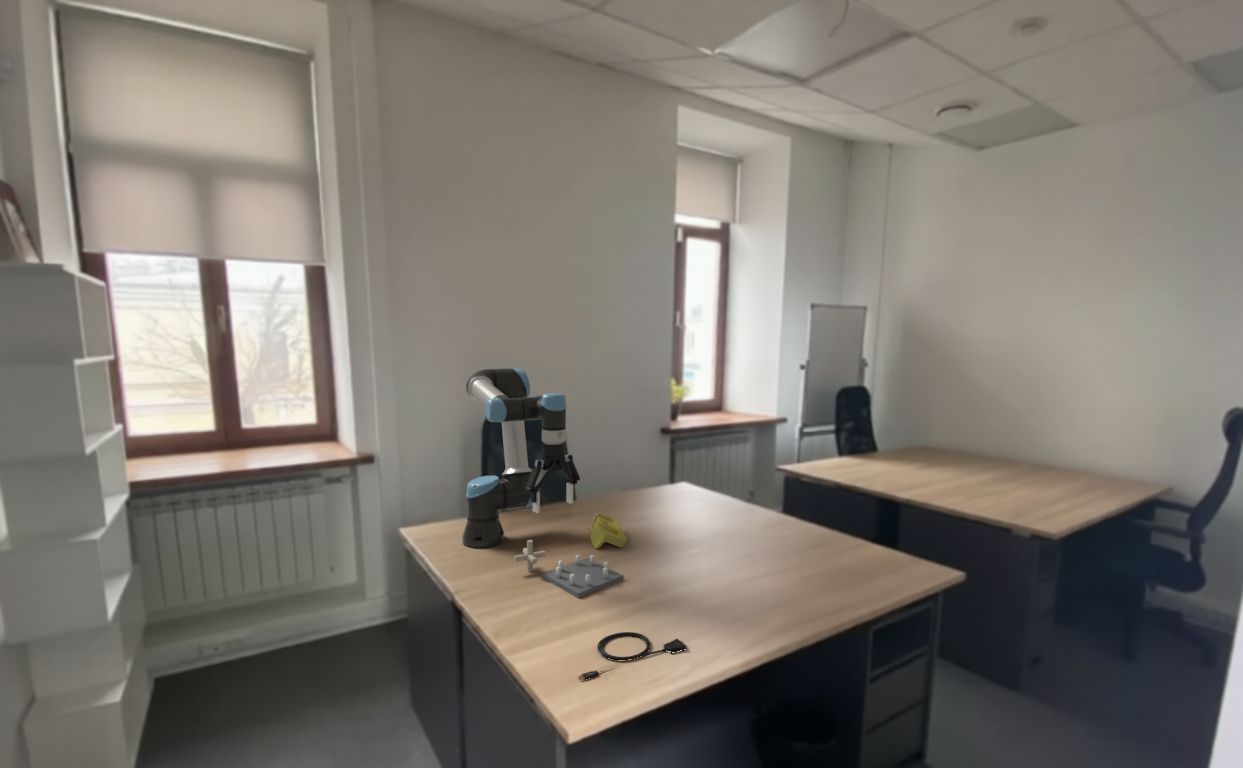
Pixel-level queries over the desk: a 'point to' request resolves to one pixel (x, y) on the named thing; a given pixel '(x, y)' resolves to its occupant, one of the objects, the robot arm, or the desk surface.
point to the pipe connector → (529, 556)
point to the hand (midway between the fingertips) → (553, 507)
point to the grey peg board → (582, 576)
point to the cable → (671, 646)
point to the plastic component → (606, 532)
